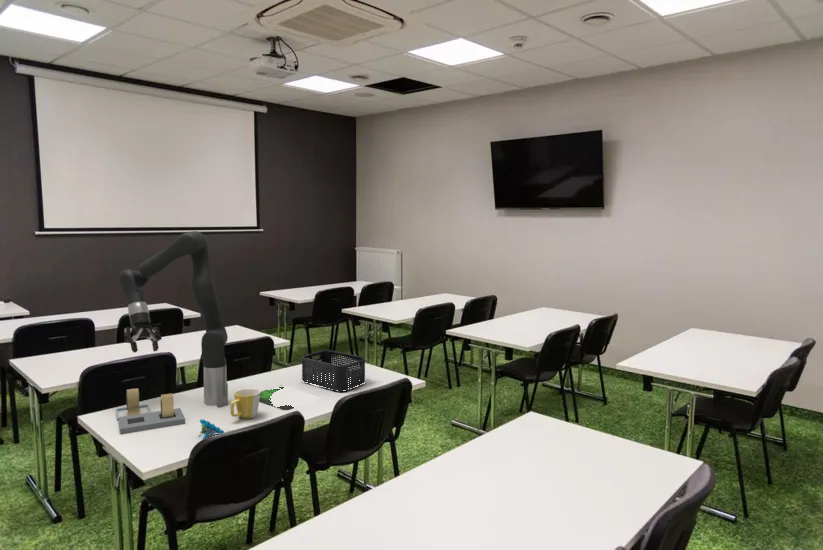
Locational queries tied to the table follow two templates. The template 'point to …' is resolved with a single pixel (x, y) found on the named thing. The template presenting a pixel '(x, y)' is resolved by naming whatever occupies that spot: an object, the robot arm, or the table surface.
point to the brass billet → (133, 401)
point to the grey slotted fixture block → (149, 421)
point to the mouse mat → (266, 396)
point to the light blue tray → (126, 409)
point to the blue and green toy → (209, 428)
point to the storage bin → (334, 370)
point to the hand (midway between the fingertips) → (145, 351)
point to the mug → (246, 403)
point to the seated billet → (167, 406)
